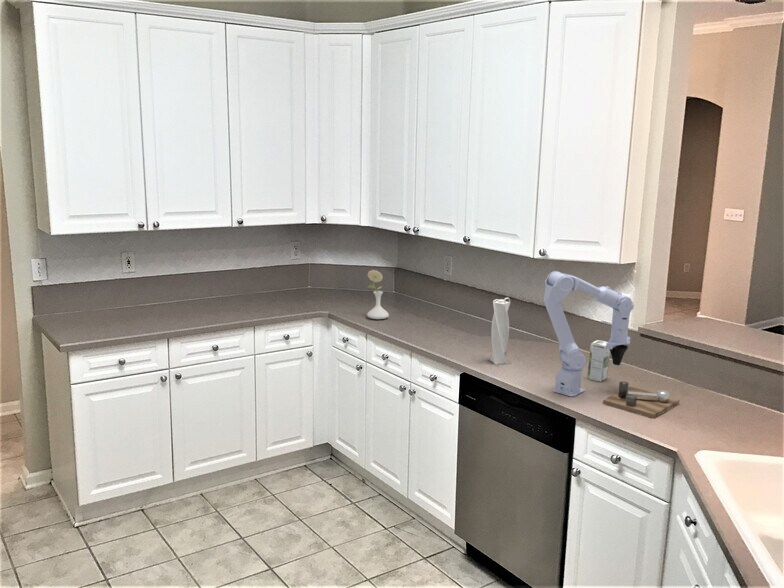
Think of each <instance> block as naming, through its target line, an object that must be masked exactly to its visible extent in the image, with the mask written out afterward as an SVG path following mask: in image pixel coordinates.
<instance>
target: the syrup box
mask: <svg viewBox="0 0 784 588" xmlns="http://www.w3.org/2000/svg"><path fill="white" fill-rule="evenodd" d="M608 342H609V341H606V340H597V339H596V340H595V341H593V342H591V343H590V348H589V356H588V357H589V359H588V367H587V368H588V369H587V378H586V379H588V380H589V381H590V380H591V381H596V382H600V383H602V382H603V381H605V380H607V379H608V373H609V363H610V356H611V352H610V350H609V349H607V348H606V343H608Z"/></svg>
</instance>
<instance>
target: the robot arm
mask: <svg viewBox="0 0 784 588" xmlns="http://www.w3.org/2000/svg"><path fill="white" fill-rule="evenodd" d="M544 284H545V290H544V296H543V303H544V306H545V308H546V310H547V314H548V317H549V319H550V321H551V324H552V327H553V330H554V332H555V334H556V338H557V340H558V343H559V346H558V350H559V359H560V361H561V368H560V370H559V371H557V373H556V375H555V385H554V389H552V392H553V393H554V392H555V393H558V394H561V395H563V396H567V397H575V396H577V395H579V394H581V393H584V392H586V389H584V388H582V386H581V385H582V374H583V368H584V367H585V365H586V364H587V358H586V356H585V355H584V354H583V353H582V352H581V350H580V348H579V345H578V344H577V343H576V341H575V339H574V336H573V333H572V330H571V328H570V325H569V323H568V322H569V321H568V320H567V318H566V315H565V312H564V309H563V307H562V304H561V303H562V301H563V299H564V298H565V297H566V296H568V294H570V292H571V291H577V290H580V291H583V292H586V293H588V294H590V295H593V296H594V299H595V301H597V302H598V303H601V304H603V305H605V306H607V307H609V308H612V319H611V330H610V338H609V340H608V341H607V342H608V343H606V348H607V349H609V350H610V356H611V359H612V364H613V365H614V366H615V365H616V366H620V365H621V363H622V361H623V357H624V355H625V353H626V352H627V350H628V349H629V347H628V346H629V345H630V344H631V337H630V336H628V334H629V323H630V315H631V312H632V311H633V309H634V307H635V304H634V302H633V300H632V298H631V297H628V296H626V295H624V294H623V293H622V292H620V291H615V290H613V289H612V287H611V286H608V285H606V286H603V285H602V286H595V285H593V284H592V283H590V282H588V281H585V280H583V279H582V278H579V277H577V276H575V275H572V274H568V273H563V272H562V271H561V272H560V271H558V270H554V271H552V272H550V273H549V274H548V275H547V277H546V279H545V281H544Z"/></svg>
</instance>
